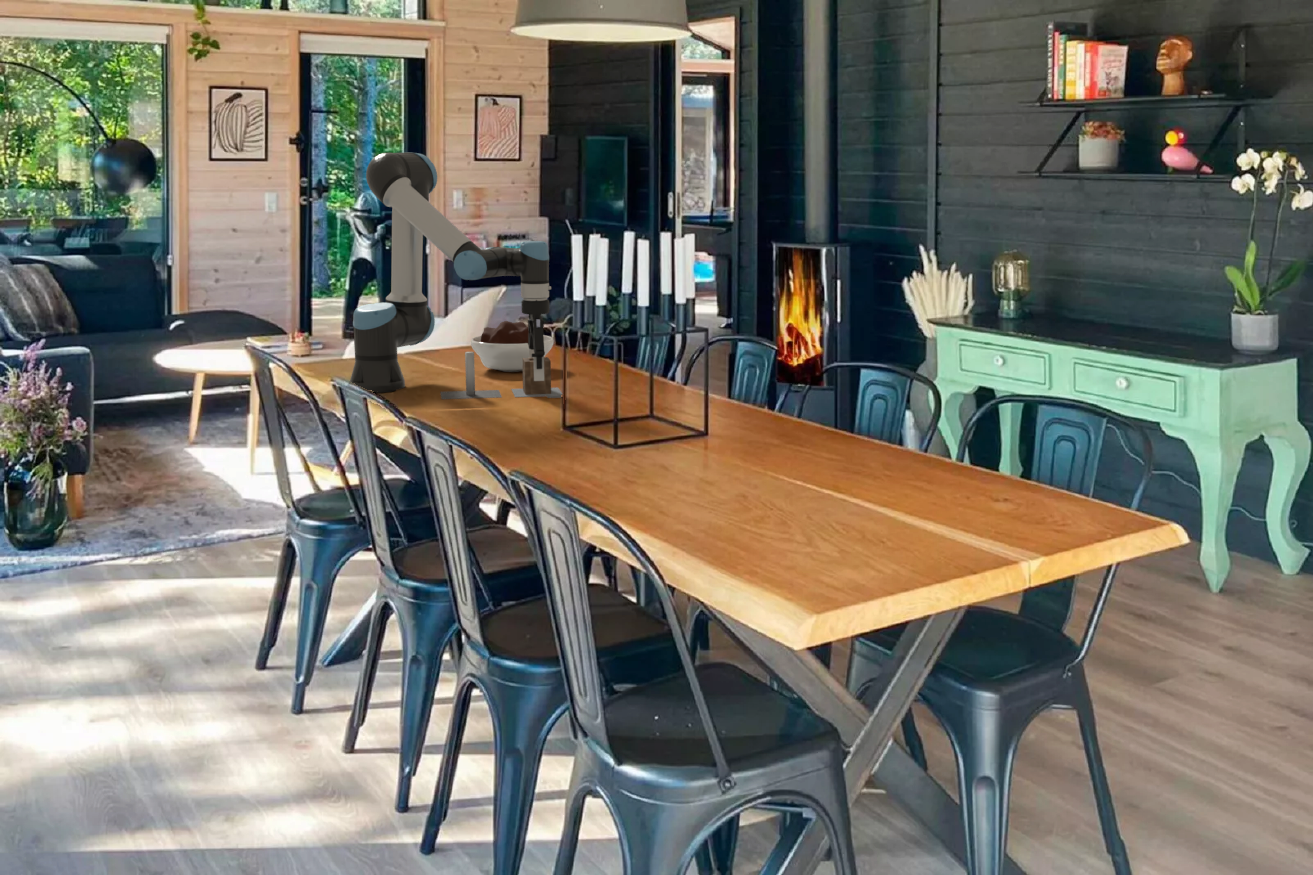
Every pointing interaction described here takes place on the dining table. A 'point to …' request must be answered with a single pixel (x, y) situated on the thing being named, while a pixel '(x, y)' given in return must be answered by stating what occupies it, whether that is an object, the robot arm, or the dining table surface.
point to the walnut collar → (528, 377)
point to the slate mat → (554, 394)
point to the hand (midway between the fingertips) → (536, 376)
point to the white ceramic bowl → (506, 346)
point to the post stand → (470, 384)
